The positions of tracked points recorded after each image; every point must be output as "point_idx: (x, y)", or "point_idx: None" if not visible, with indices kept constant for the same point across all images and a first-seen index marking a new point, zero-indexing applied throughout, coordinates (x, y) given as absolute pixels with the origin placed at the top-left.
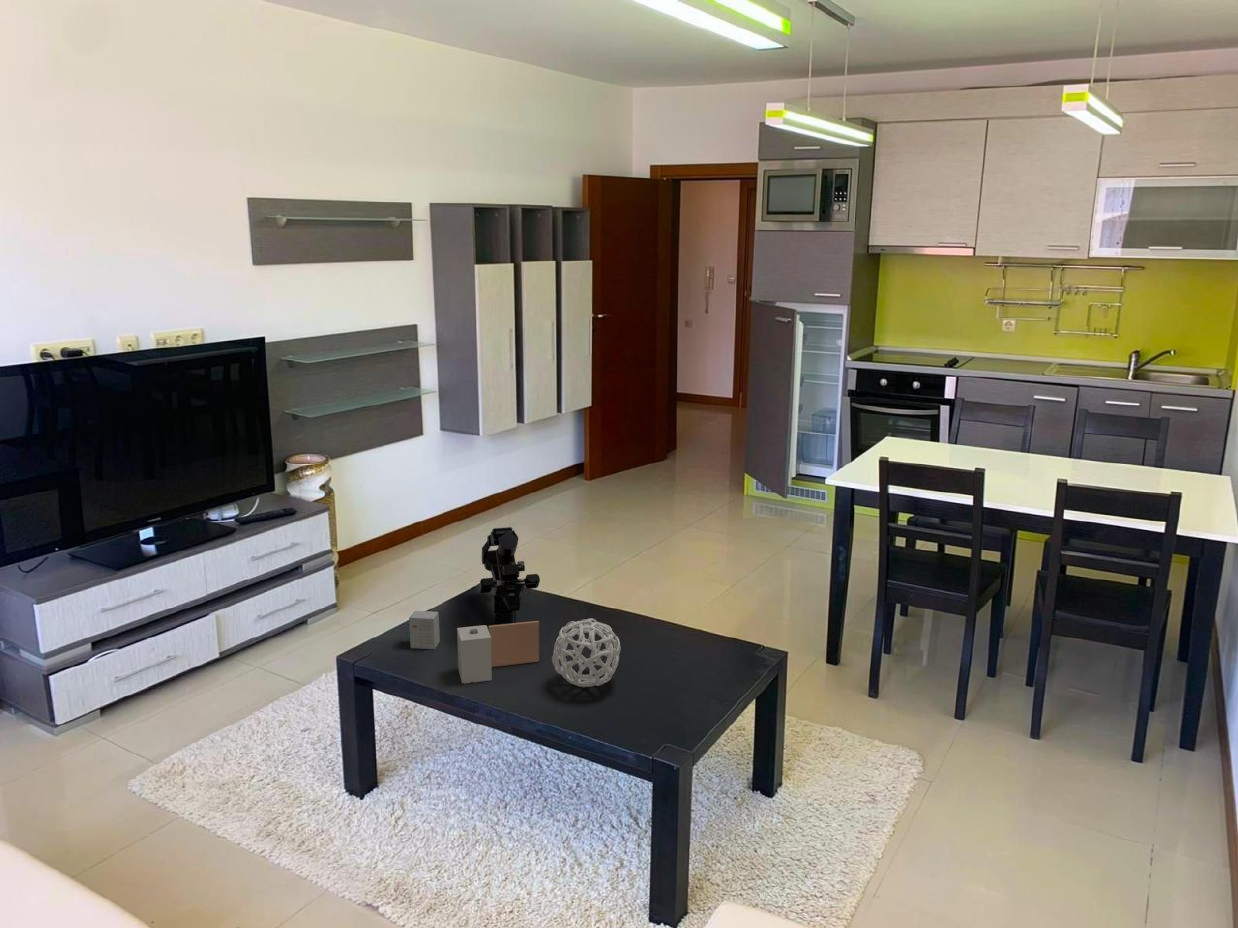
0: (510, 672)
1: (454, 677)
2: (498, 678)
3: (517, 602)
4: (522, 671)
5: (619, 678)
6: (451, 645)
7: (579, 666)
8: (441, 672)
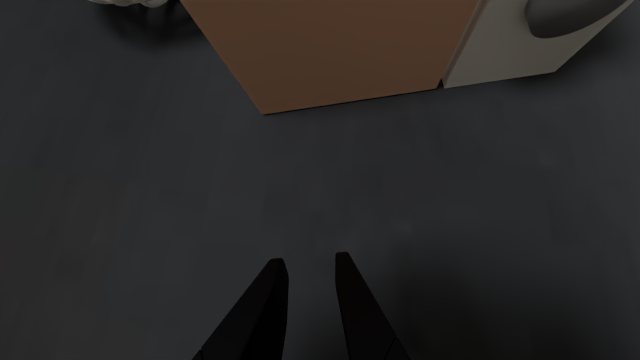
0: None
1: None
2: None
3: (251, 288)
4: None
5: (77, 2)
6: (631, 302)
7: (147, 1)
8: (620, 57)
